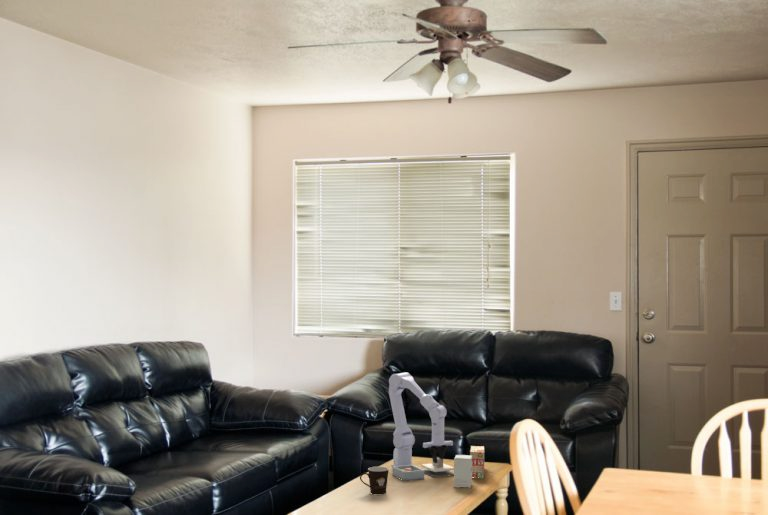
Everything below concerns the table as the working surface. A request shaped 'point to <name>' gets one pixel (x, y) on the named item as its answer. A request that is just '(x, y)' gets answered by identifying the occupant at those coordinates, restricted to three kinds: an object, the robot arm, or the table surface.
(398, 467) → the box
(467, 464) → the supplement box
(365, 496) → the table surface
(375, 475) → the coffee mug
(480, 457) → the stack of blocks
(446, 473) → the mat
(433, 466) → the lid
